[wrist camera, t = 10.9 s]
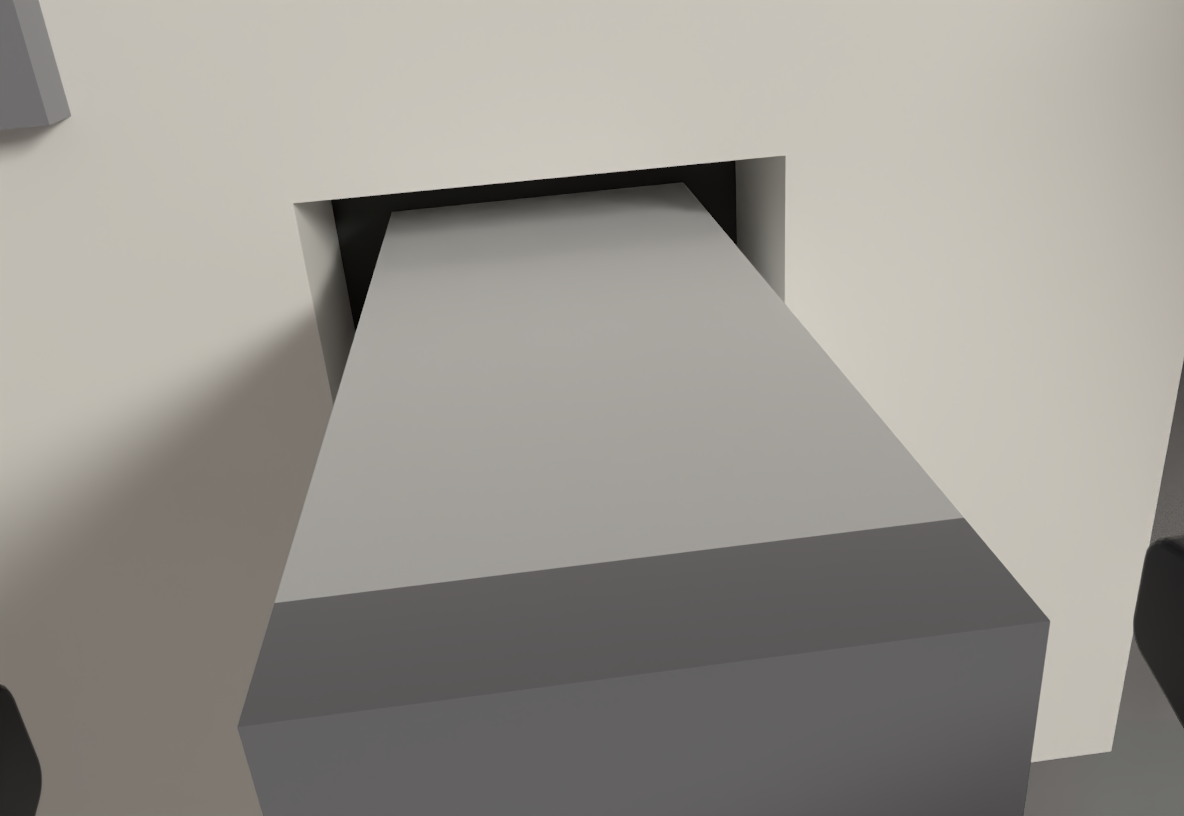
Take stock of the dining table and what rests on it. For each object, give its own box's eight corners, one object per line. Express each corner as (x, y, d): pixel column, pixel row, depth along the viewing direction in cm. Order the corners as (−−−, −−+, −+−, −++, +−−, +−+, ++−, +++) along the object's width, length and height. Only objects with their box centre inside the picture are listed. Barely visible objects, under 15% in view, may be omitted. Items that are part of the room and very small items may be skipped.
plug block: (693, 440, 16) (982, 1111, 7) (434, 470, 16) (378, 1209, 7) (683, 181, 14) (1051, 618, 5) (391, 211, 14) (238, 726, 5)
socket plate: (1032, 650, 18) (1133, 779, 15) (116, 769, 17) (47, 931, 14) (1159, -283, 12) (1359, -347, 10) (-227, -183, 11) (-456, -221, 9)
